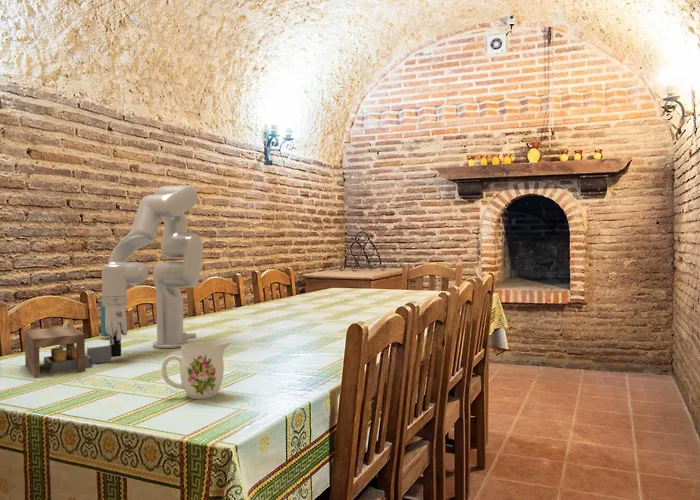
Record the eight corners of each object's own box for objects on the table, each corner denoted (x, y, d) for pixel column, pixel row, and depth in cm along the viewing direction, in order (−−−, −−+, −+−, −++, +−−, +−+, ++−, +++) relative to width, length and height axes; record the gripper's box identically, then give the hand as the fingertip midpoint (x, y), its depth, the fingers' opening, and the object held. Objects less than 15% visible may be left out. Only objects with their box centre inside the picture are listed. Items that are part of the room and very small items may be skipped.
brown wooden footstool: (72, 360, 201) (72, 326, 201) (85, 371, 184) (84, 334, 184) (25, 365, 193) (24, 330, 193) (34, 377, 176) (33, 339, 176)
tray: (106, 359, 203) (106, 341, 202) (115, 365, 194) (114, 346, 193) (44, 367, 192) (43, 348, 191) (50, 373, 183) (49, 353, 182)
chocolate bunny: (52, 347, 224) (51, 320, 224) (70, 343, 231) (70, 318, 231) (62, 348, 222) (61, 321, 221) (80, 345, 229) (79, 318, 228)
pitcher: (163, 393, 158) (162, 341, 158) (232, 388, 163) (231, 337, 163) (161, 404, 148) (160, 349, 147) (235, 398, 152) (234, 345, 152)
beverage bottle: (111, 340, 238) (111, 290, 237) (97, 339, 239) (96, 289, 239) (121, 337, 244) (120, 288, 244) (106, 337, 246) (105, 288, 245)
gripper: (132, 302, 195) (133, 358, 195) (120, 298, 207) (121, 351, 207) (108, 304, 190) (109, 361, 191) (97, 300, 203) (98, 354, 203)
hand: (115, 356), depth 199 cm, fingers closed
